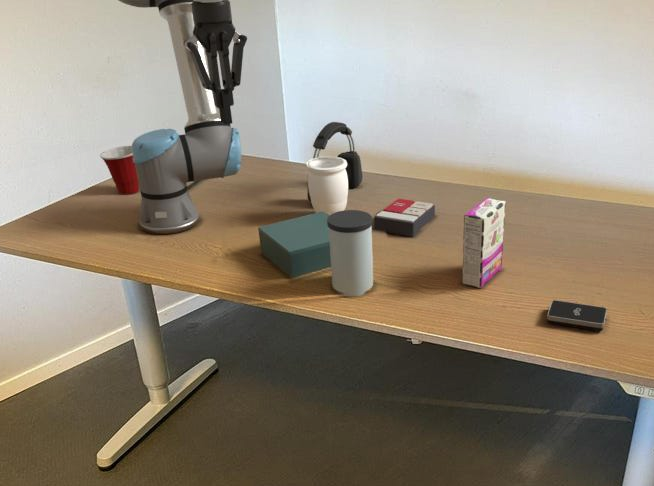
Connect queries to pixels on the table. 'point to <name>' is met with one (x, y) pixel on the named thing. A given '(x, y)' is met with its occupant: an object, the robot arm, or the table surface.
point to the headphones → (351, 157)
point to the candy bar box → (483, 242)
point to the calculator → (404, 217)
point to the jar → (328, 184)
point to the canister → (351, 252)
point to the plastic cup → (122, 169)
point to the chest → (296, 258)
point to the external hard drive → (577, 315)
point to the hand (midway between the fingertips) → (226, 122)
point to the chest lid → (299, 233)
